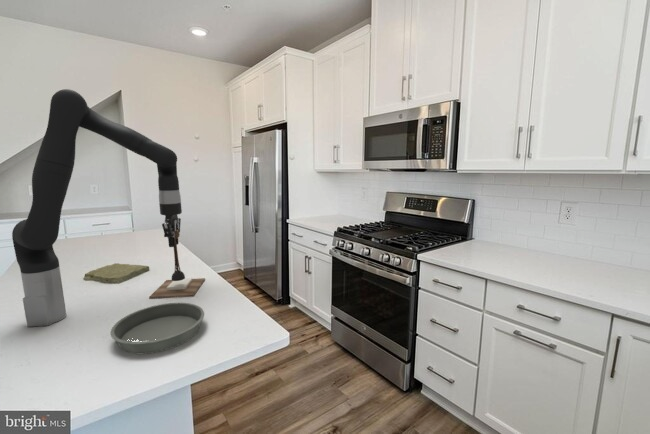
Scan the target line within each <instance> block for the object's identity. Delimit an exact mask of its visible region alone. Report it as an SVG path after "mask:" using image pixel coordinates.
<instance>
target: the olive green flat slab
mask: <svg viewBox="0 0 650 434" xmlns="http://www.w3.org/2000/svg"><path fill="white" fill-rule="evenodd" d="M150 271H151V270H150V266H149V265H141V264H130V263H115V262H114V263H113V264H108V265H105V266H102V267H99V268H96V269H92V270H90V271H89V272H86V273H85V274H84V276H83V277H82V279H83V281H90V282H91V281H94V282H99V283H103V284H116V285H120V284H121V283H122V284H123V283H124V282H126V281H129V280H131V279H134V278H136V277H138V276H140V275H143V274H145V273H147V272H150Z"/></svg>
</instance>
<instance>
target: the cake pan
mask: <svg viewBox="0 0 650 434" xmlns="http://www.w3.org/2000/svg"><path fill="white" fill-rule="evenodd" d="M204 317H205V311H204V309H203V308H202V307H201V306H199V305H197V304H194V303H190V302H168V303H167V302H166V303H161V304H157V305H151V306H148V307H144V308H142V309H139V310H136V311H133V312H131V313H130V314H128V315H125V316H124V317H122V318H120V319H119V320H118V321H117V322H116V323H114V325H113V326H112V328H111V330H110V336H111V338H112V339H113V340H114V341H115V342H117V343H118V345H119V347H120V348H121V349H122V351H125V352H127V353H130V352H132V353H131V354H138V353H143V354H152V352H154V353H159V352H163V351H167V350H170V349H172V348H175V347H177V346H180V345H182V344H184V343H186V342H187V341H189V340H191V339H192V338H194V337H195V335H197V334H198V332H199V330H200V327H201V326H200V325H201V322H202V321H203V319H204ZM132 338H133V339H132ZM128 339H129V340H130V341H129V340H128ZM137 339H138V340H139V341H138V342H132V341H134V340H135V341H136V340H137ZM155 339H156V340H155ZM127 340H128V341H127ZM131 340H132V341H131ZM140 341H142V342H140ZM158 351H159V352H158Z"/></svg>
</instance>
